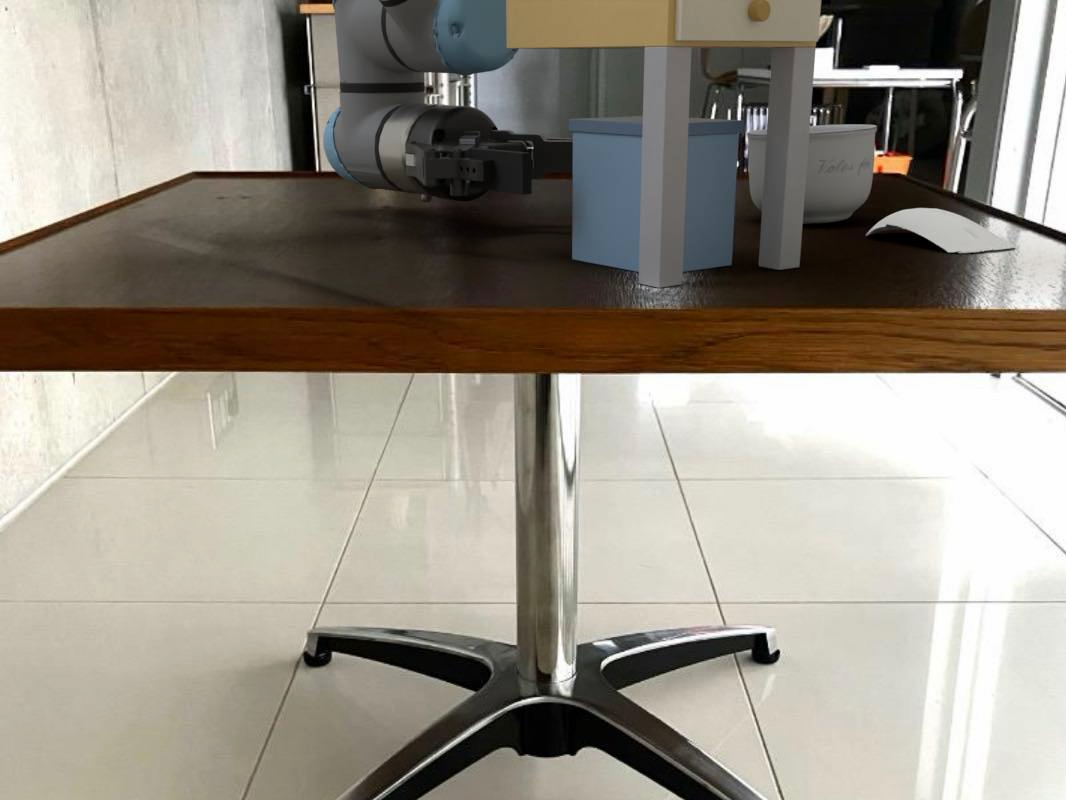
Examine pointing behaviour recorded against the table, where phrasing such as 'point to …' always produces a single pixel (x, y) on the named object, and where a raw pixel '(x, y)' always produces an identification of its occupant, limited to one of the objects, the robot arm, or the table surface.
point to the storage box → (615, 191)
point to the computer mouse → (943, 230)
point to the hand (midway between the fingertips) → (604, 168)
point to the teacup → (825, 170)
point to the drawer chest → (667, 36)
